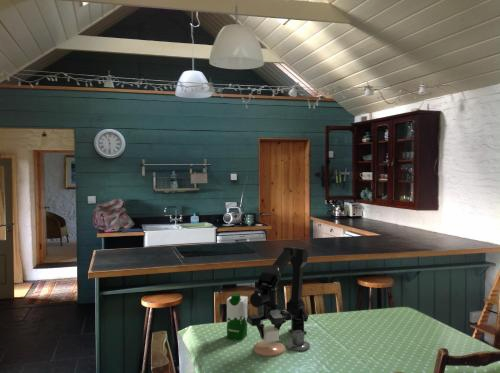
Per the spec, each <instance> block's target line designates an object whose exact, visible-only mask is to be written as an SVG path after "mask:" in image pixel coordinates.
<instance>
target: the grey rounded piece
mask: <svg viewBox="0 0 500 373" xmlns="http://www.w3.org/2000/svg"><path fill="white" fill-rule="evenodd" d="M291 336H292V337H291V338H292V339H291V340H288V341H287V342H286V344H285V345H286V349H288V350H289V351H294V352H307V351H309V350H310V348H311V343H310V342H308V341H307V340H305V334H304V332H303V331H301V330H295V331H293V334H292V335H291Z"/></svg>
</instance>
